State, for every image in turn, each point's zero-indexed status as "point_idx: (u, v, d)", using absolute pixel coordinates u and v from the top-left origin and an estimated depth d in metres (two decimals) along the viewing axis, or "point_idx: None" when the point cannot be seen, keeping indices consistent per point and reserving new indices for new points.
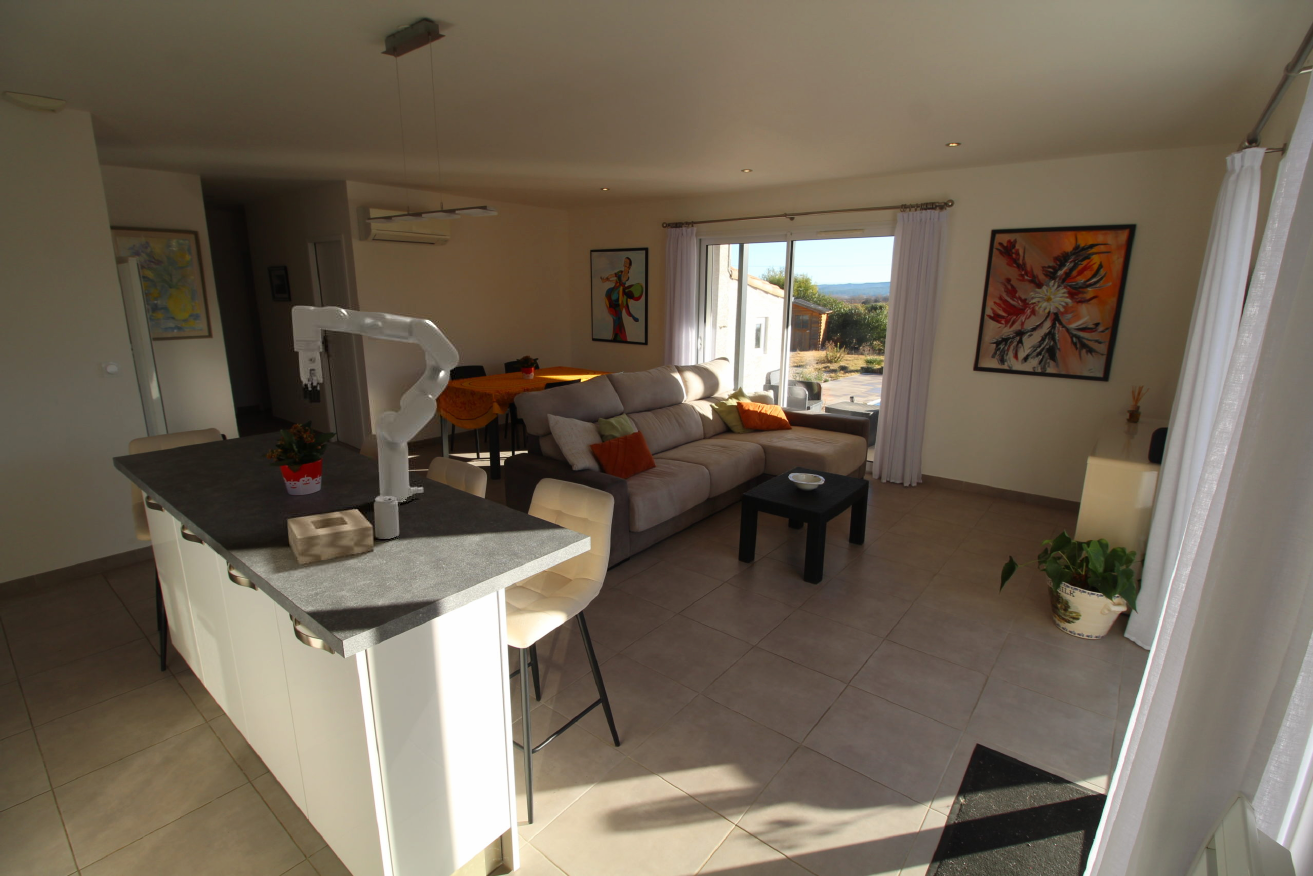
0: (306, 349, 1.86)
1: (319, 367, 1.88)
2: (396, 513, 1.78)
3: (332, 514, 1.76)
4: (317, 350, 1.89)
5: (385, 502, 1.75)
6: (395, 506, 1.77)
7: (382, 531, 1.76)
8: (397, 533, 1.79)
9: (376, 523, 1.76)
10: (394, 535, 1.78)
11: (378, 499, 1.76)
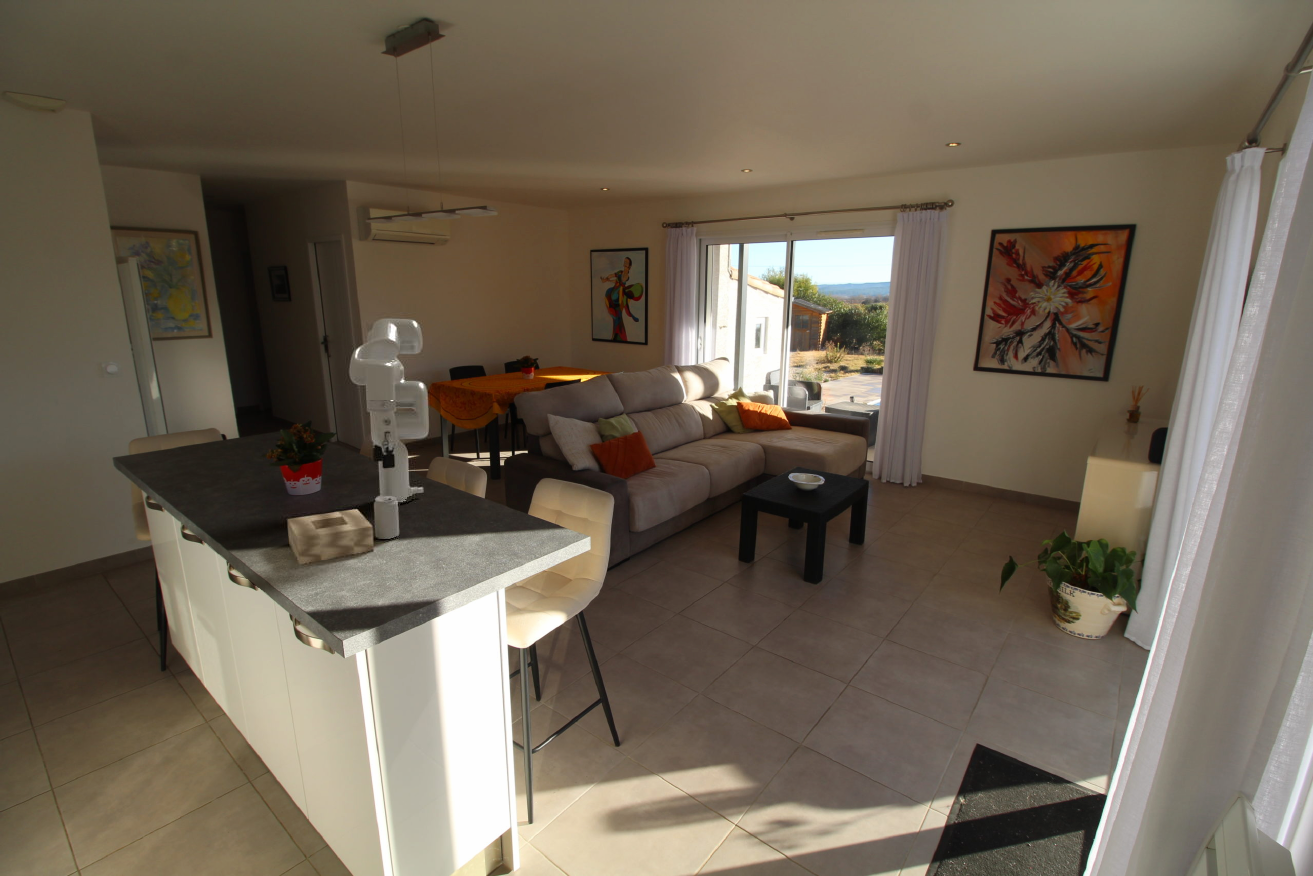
0: (381, 410, 1.69)
1: (394, 429, 1.71)
2: (396, 513, 1.78)
3: (332, 514, 1.76)
4: (392, 410, 1.71)
5: (385, 502, 1.75)
6: (395, 506, 1.77)
7: (382, 531, 1.76)
8: (397, 533, 1.79)
9: (376, 523, 1.76)
10: (394, 535, 1.78)
11: (378, 499, 1.76)
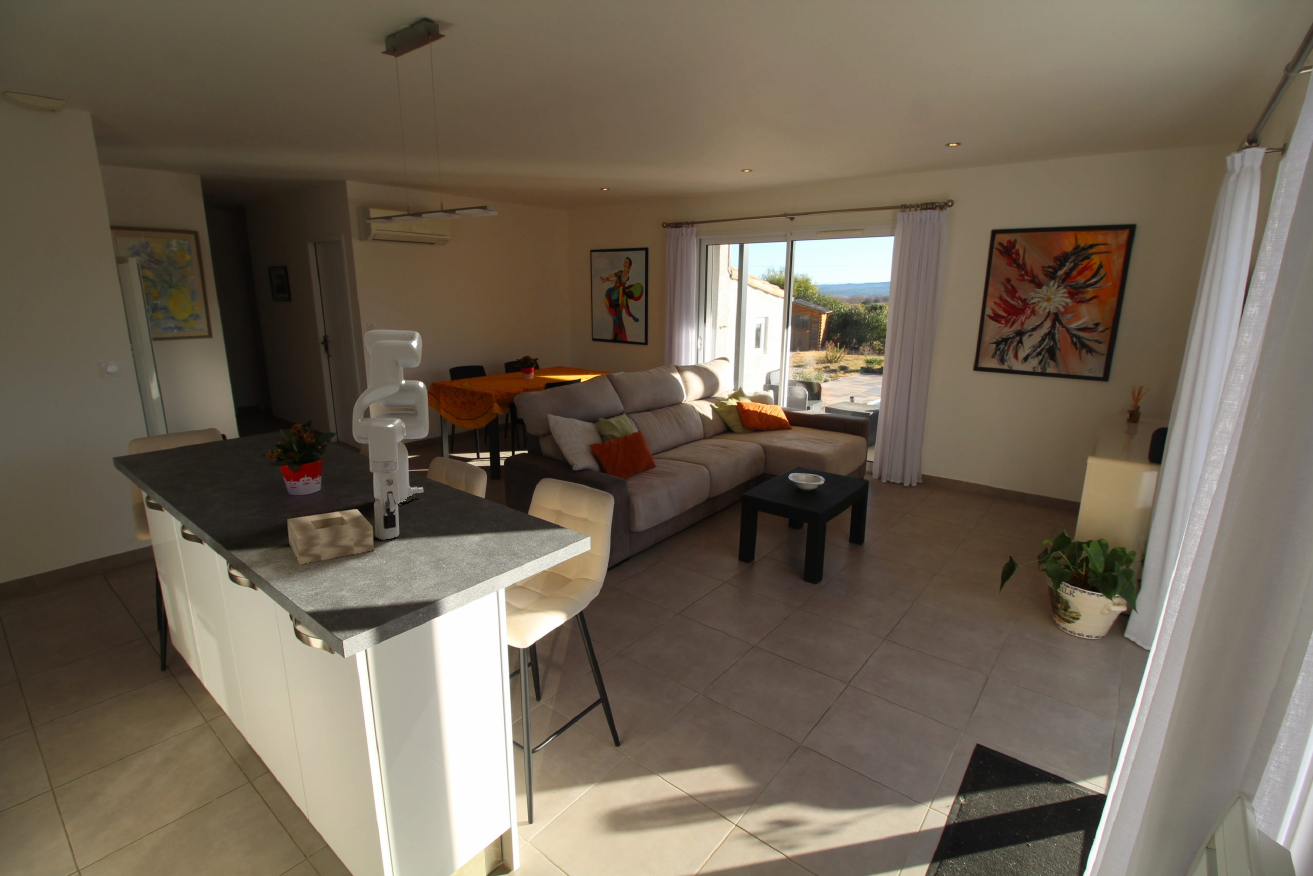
0: (383, 470, 1.72)
1: (396, 489, 1.74)
2: (396, 514, 1.77)
3: (332, 514, 1.76)
4: (394, 470, 1.74)
5: None
6: (395, 507, 1.77)
7: (382, 531, 1.76)
8: (397, 533, 1.79)
9: (376, 523, 1.76)
10: (394, 535, 1.78)
11: None
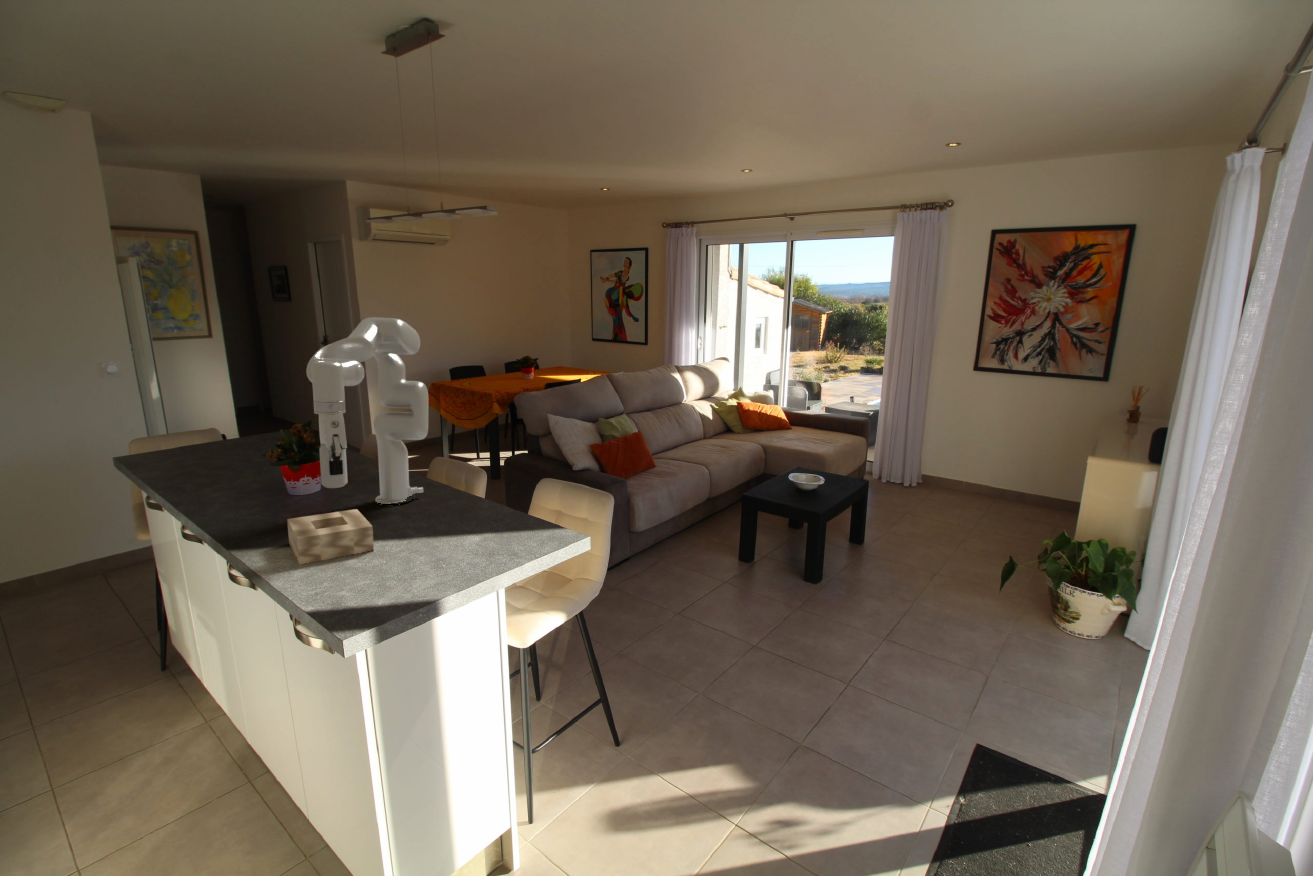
0: (328, 412, 1.61)
1: (343, 432, 1.63)
2: (343, 460, 1.66)
3: (332, 514, 1.76)
4: (340, 412, 1.63)
5: (331, 447, 1.63)
6: (343, 452, 1.66)
7: (328, 478, 1.64)
8: (345, 481, 1.67)
9: (322, 469, 1.64)
10: (341, 483, 1.66)
11: None
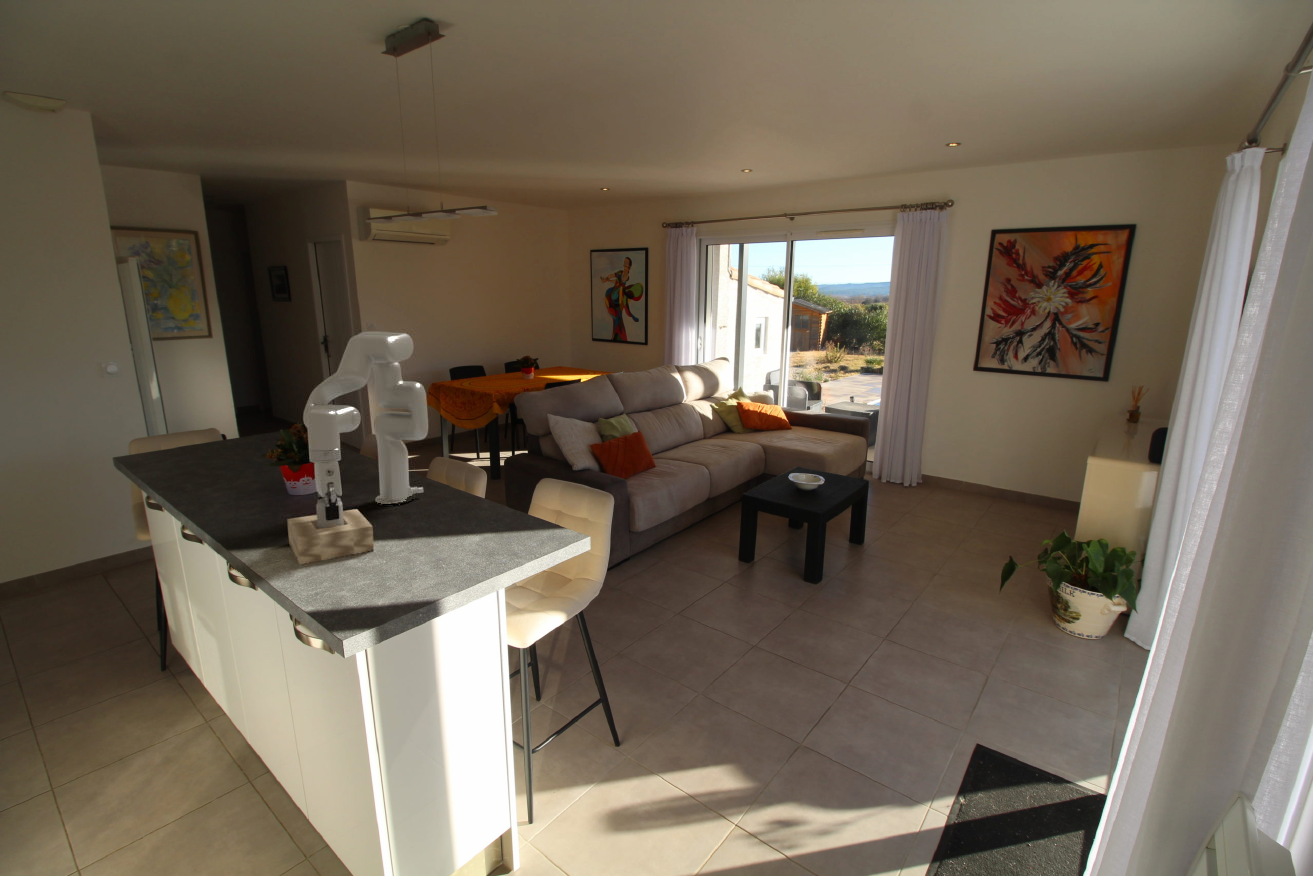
0: (323, 460, 1.62)
1: (338, 479, 1.64)
2: (340, 516, 1.68)
3: None
4: (336, 460, 1.64)
5: None
6: (339, 508, 1.67)
7: None
8: None
9: (318, 526, 1.66)
10: None
11: (321, 500, 1.66)
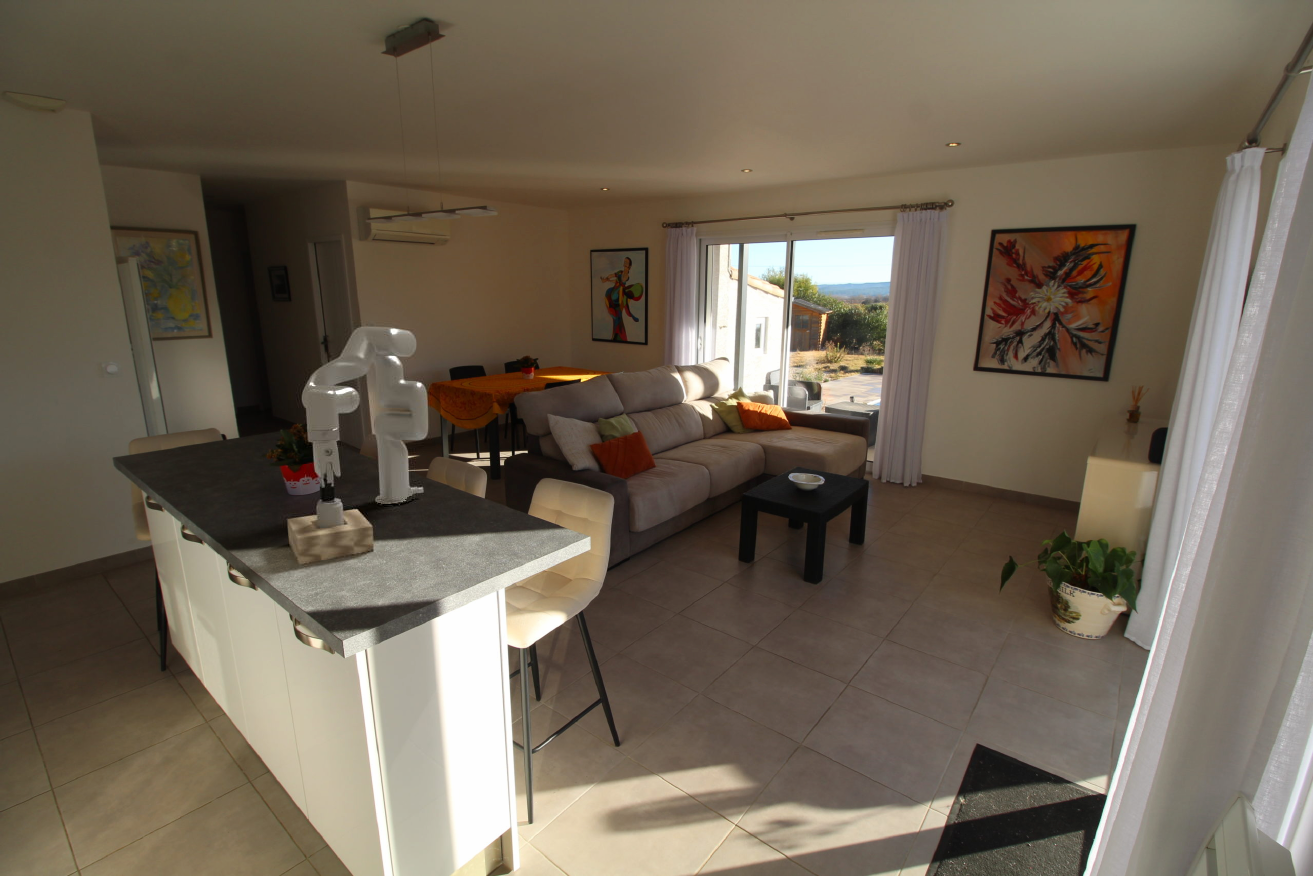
0: (322, 440, 1.61)
1: (336, 460, 1.63)
2: (340, 517, 1.68)
3: None
4: (334, 440, 1.63)
5: (328, 505, 1.65)
6: (339, 509, 1.67)
7: None
8: None
9: (319, 527, 1.66)
10: None
11: (321, 501, 1.66)
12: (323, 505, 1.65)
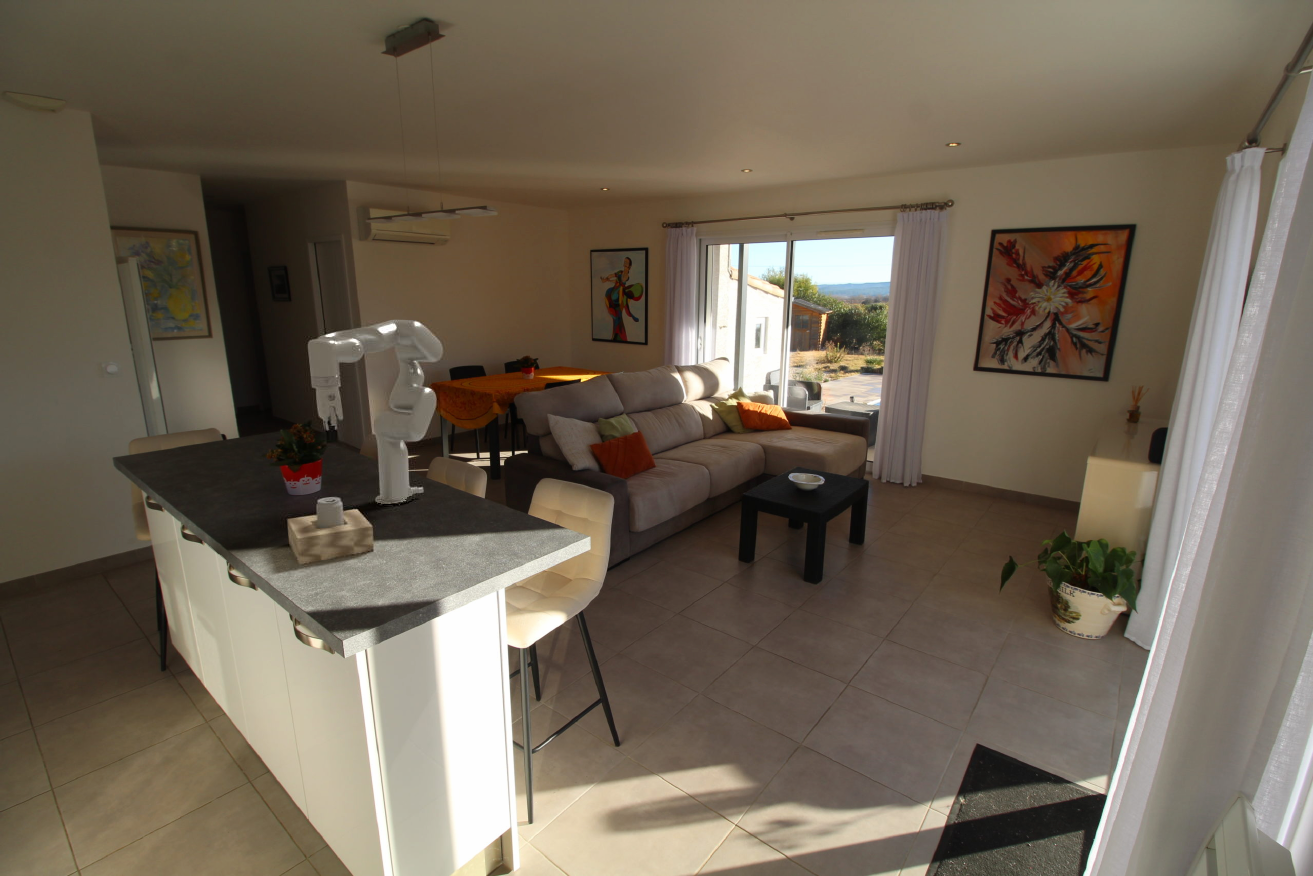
0: (325, 386, 1.75)
1: (339, 404, 1.77)
2: (340, 516, 1.68)
3: None
4: (336, 386, 1.77)
5: (328, 504, 1.65)
6: (339, 508, 1.67)
7: None
8: None
9: (319, 526, 1.66)
10: None
11: (321, 501, 1.66)
12: (323, 504, 1.65)
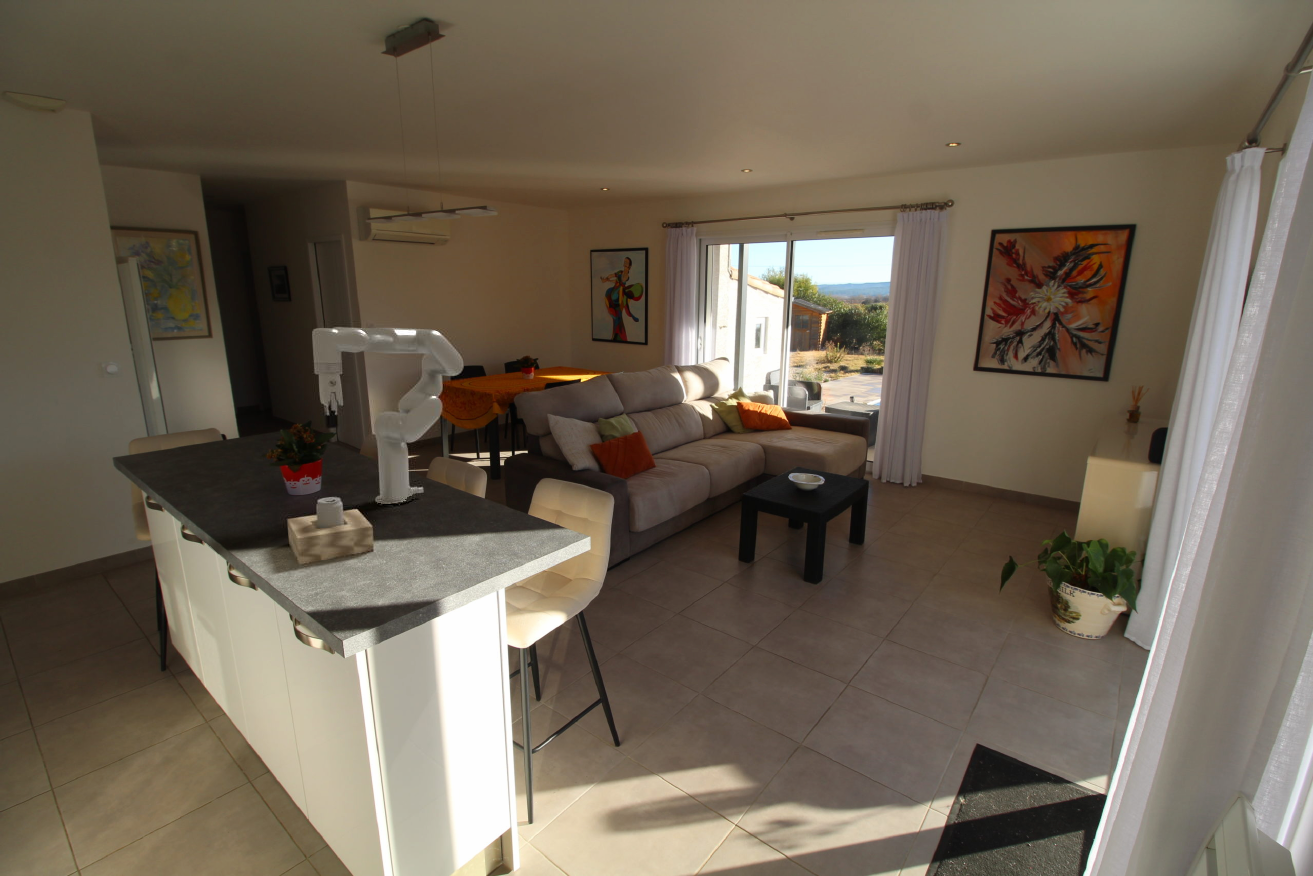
0: (327, 372, 1.84)
1: (340, 390, 1.86)
2: (340, 516, 1.68)
3: None
4: (337, 373, 1.86)
5: (328, 504, 1.65)
6: (339, 508, 1.67)
7: None
8: None
9: (319, 526, 1.66)
10: None
11: (321, 501, 1.66)
12: (323, 504, 1.65)
